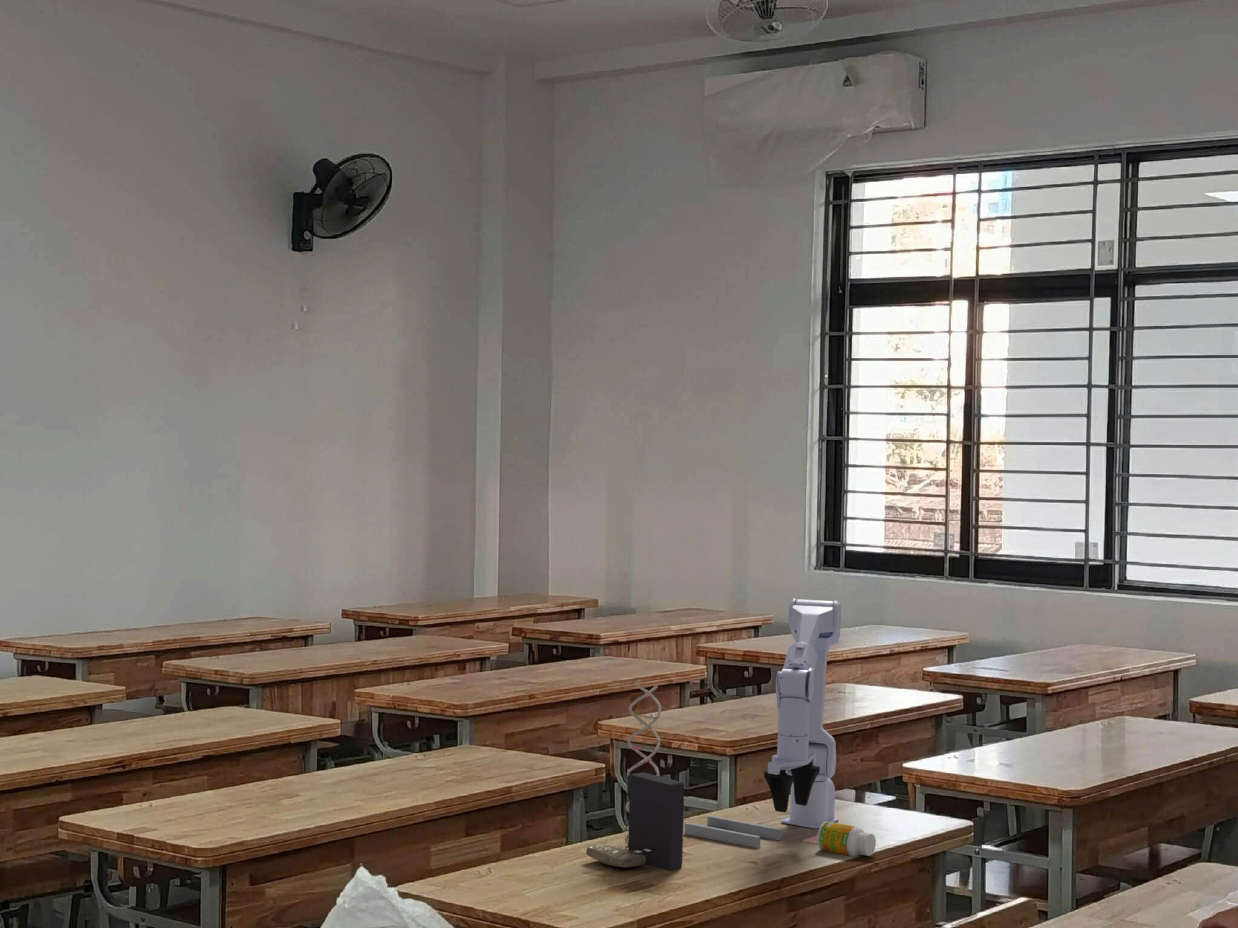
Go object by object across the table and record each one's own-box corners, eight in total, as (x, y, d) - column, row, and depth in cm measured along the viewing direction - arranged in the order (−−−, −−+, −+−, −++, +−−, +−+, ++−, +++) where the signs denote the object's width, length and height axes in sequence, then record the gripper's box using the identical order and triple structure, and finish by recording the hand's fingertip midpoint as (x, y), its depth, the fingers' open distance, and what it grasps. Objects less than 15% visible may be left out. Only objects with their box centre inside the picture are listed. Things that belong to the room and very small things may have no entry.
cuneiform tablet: (631, 852, 264) (586, 838, 273) (630, 875, 264) (584, 859, 273) (656, 849, 268) (610, 834, 277) (655, 871, 268) (609, 856, 277)
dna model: (665, 848, 283) (670, 683, 283) (642, 854, 279) (647, 687, 279) (638, 841, 288) (643, 679, 288) (615, 847, 283) (620, 682, 283)
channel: (710, 825, 302) (710, 815, 302) (781, 839, 293) (782, 828, 293) (684, 833, 295) (684, 823, 295) (757, 848, 286) (757, 837, 286)
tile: (827, 832, 299) (827, 830, 299) (874, 841, 293) (874, 839, 293) (801, 842, 291) (801, 840, 291) (849, 851, 285) (849, 849, 285)
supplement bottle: (815, 824, 283) (862, 833, 277) (831, 817, 288) (877, 826, 281) (816, 853, 284) (863, 863, 278) (831, 845, 288) (878, 855, 282)
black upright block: (685, 867, 270) (687, 781, 270) (667, 871, 267) (669, 784, 267) (642, 854, 278) (645, 771, 278) (624, 858, 276) (627, 773, 275)
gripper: (793, 726, 294) (791, 798, 294) (754, 736, 283) (752, 810, 283) (826, 731, 290) (824, 804, 290) (788, 741, 279) (785, 816, 279)
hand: (791, 807), depth 286 cm, fingers open, 7 cm apart
